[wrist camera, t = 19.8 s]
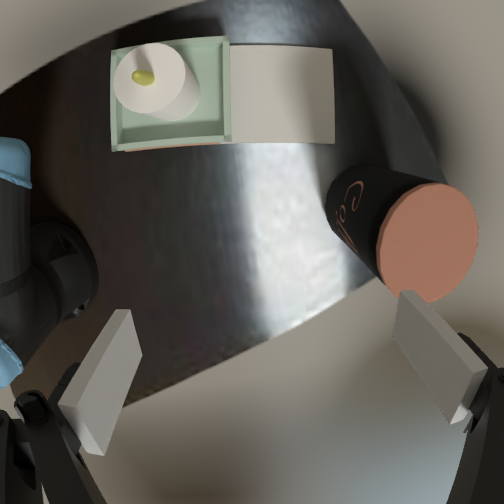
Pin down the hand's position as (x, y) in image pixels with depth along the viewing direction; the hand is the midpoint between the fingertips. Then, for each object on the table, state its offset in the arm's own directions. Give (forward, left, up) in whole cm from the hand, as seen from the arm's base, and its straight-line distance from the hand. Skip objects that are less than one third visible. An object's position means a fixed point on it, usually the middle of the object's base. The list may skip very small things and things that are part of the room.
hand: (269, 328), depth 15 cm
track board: (-2, +15, -27) cm, 31 cm away
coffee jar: (+15, +1, -27) cm, 31 cm away
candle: (-9, +15, -24) cm, 29 cm away
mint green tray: (-9, +15, -27) cm, 32 cm away
